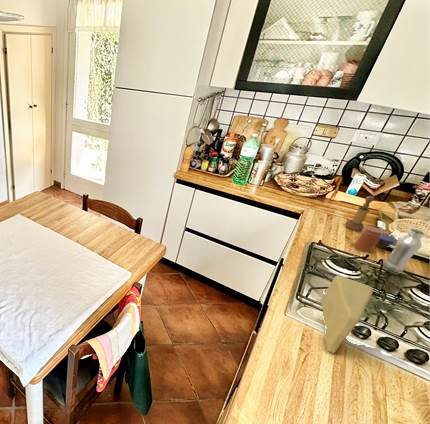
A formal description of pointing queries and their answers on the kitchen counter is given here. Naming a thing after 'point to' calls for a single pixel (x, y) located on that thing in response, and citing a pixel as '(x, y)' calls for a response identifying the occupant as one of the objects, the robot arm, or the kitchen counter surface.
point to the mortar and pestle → (360, 215)
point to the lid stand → (382, 245)
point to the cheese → (343, 309)
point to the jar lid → (387, 239)
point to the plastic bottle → (403, 251)
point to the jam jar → (368, 239)
